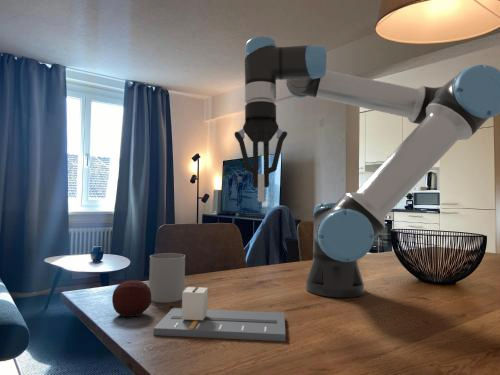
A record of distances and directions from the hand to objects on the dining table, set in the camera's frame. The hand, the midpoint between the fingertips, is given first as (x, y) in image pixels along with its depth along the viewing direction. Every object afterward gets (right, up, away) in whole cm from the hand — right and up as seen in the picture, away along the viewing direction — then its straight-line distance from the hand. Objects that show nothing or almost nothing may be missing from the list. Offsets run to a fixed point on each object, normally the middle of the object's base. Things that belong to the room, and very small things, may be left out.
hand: (261, 201), depth 88 cm
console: (-8, -23, -19) cm, 31 cm away
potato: (-27, -23, -13) cm, 38 cm away
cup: (-23, -23, 0) cm, 33 cm away
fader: (-13, -21, -18) cm, 31 cm away
